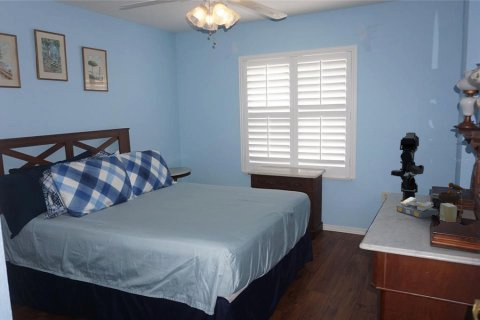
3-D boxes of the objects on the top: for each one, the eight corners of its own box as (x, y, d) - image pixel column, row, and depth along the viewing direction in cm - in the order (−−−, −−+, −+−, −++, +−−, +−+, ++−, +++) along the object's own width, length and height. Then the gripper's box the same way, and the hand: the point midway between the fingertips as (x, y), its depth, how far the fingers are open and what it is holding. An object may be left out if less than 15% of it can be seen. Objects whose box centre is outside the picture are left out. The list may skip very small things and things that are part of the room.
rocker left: (401, 205, 201) (400, 202, 201) (411, 199, 204) (410, 196, 203) (406, 206, 198) (405, 203, 198) (416, 200, 201) (415, 197, 200)
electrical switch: (450, 210, 200) (450, 194, 198) (449, 213, 196) (450, 197, 194) (431, 208, 205) (431, 192, 204) (430, 211, 201) (430, 195, 199)
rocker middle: (408, 204, 196) (409, 200, 196) (418, 205, 199) (419, 202, 199) (413, 205, 193) (414, 202, 192) (424, 206, 196) (425, 203, 196)
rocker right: (417, 209, 191) (416, 206, 191) (428, 204, 194) (427, 201, 193) (422, 211, 188) (422, 208, 187) (433, 205, 191) (433, 202, 190)
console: (396, 210, 201) (396, 203, 201) (412, 208, 206) (412, 201, 205) (420, 218, 187) (420, 210, 186) (437, 215, 191) (437, 207, 191)
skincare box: (438, 228, 170) (439, 203, 169) (447, 227, 171) (448, 202, 169) (447, 232, 164) (448, 206, 162) (456, 232, 164) (457, 206, 163)
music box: (464, 219, 182) (467, 181, 178) (465, 227, 173) (468, 187, 169) (430, 216, 190) (432, 179, 186) (429, 223, 180) (431, 185, 176)
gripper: (406, 162, 191) (405, 191, 193) (432, 160, 198) (430, 188, 200) (390, 160, 201) (389, 187, 203) (415, 158, 208) (414, 184, 210)
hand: (406, 187), depth 204 cm, fingers closed
